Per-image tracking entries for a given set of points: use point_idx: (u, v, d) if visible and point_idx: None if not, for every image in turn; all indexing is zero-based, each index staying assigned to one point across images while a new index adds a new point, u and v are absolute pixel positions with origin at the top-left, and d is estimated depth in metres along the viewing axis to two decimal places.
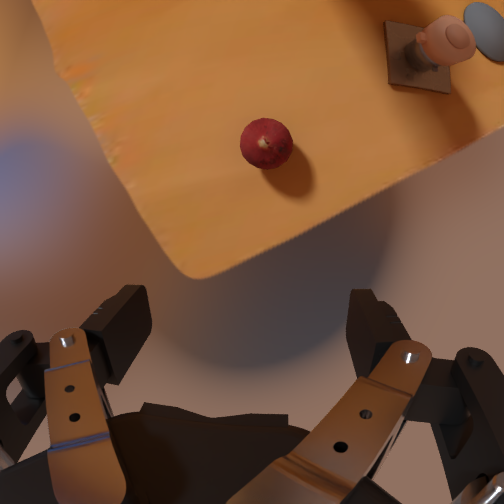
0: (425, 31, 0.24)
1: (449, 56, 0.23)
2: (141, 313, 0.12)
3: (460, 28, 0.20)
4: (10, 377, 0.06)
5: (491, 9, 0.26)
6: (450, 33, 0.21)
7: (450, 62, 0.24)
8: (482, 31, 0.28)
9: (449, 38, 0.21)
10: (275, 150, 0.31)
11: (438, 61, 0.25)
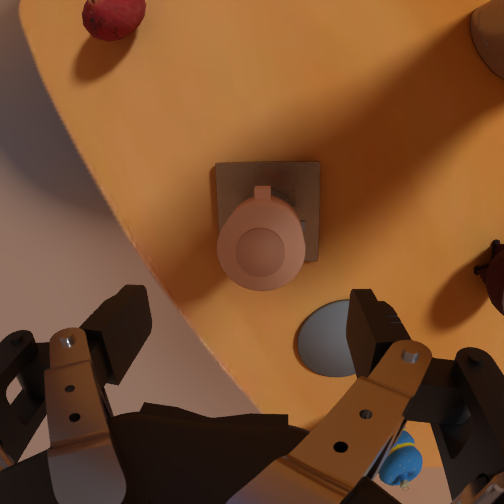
0: (275, 200, 0.20)
1: None
2: (142, 313, 0.12)
3: (276, 260, 0.18)
4: (10, 377, 0.06)
5: None
6: (259, 236, 0.18)
7: None
8: (338, 328, 0.32)
9: (248, 232, 0.18)
10: (88, 13, 0.18)
11: None
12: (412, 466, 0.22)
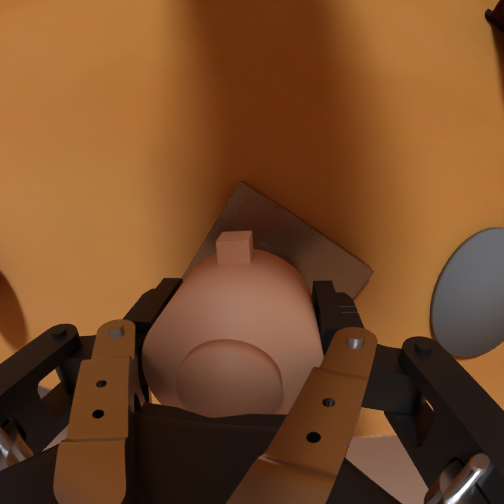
0: (261, 263, 0.10)
1: None
2: None
3: (265, 404, 0.08)
4: (44, 371, 0.07)
5: None
6: (222, 362, 0.08)
7: None
8: (471, 294, 0.18)
9: (198, 354, 0.08)
10: None
11: None
12: None
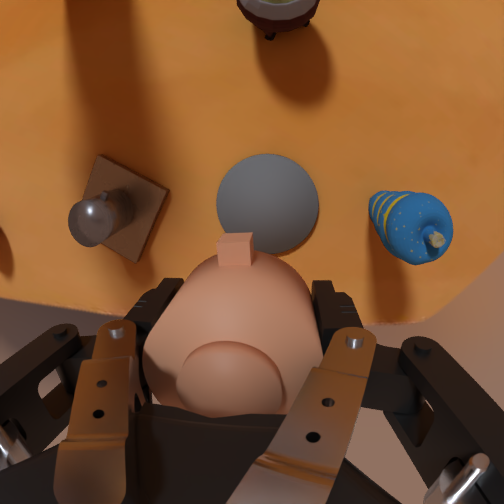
0: (261, 265, 0.10)
1: None
2: None
3: (265, 405, 0.08)
4: (45, 371, 0.07)
5: (299, 172, 0.30)
6: (223, 363, 0.08)
7: None
8: (246, 202, 0.31)
9: (199, 355, 0.08)
10: None
11: None
12: (412, 213, 0.18)
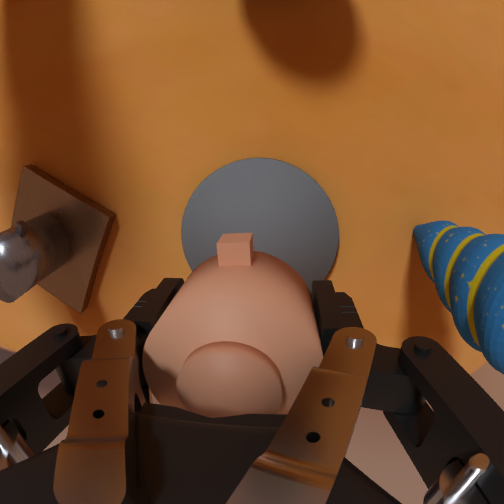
0: (261, 265, 0.10)
1: None
2: None
3: (265, 406, 0.08)
4: (45, 371, 0.07)
5: (310, 187, 0.19)
6: (223, 364, 0.08)
7: None
8: None
9: (199, 355, 0.08)
10: None
11: None
12: None
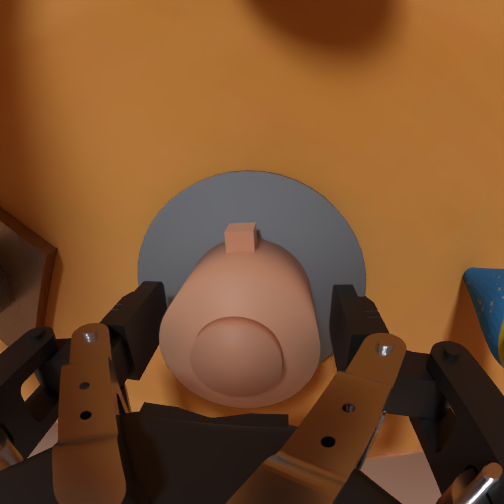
0: (264, 251, 0.11)
1: None
2: (160, 309, 0.12)
3: (267, 374, 0.09)
4: (26, 374, 0.07)
5: (326, 217, 0.12)
6: (231, 336, 0.09)
7: None
8: None
9: (210, 329, 0.09)
10: None
11: None
12: None
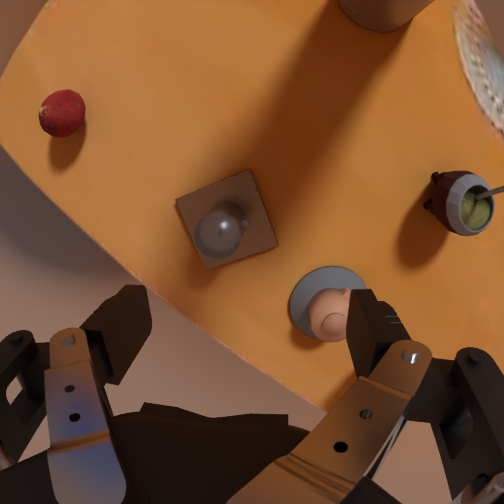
0: None
1: (323, 304, 0.34)
2: (142, 313, 0.12)
3: (339, 332, 0.34)
4: (10, 377, 0.06)
5: None
6: (341, 319, 0.34)
7: (315, 302, 0.36)
8: None
9: (338, 314, 0.34)
10: (44, 123, 0.28)
11: (320, 293, 0.37)
12: None
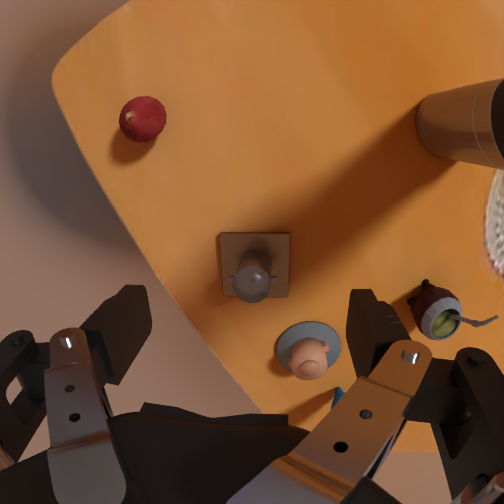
0: None
1: (307, 351, 0.43)
2: (141, 313, 0.12)
3: (310, 375, 0.43)
4: (10, 377, 0.06)
5: (335, 355, 0.47)
6: (316, 366, 0.43)
7: (300, 347, 0.45)
8: None
9: (315, 363, 0.43)
10: (126, 127, 0.32)
11: (305, 340, 0.46)
12: None
